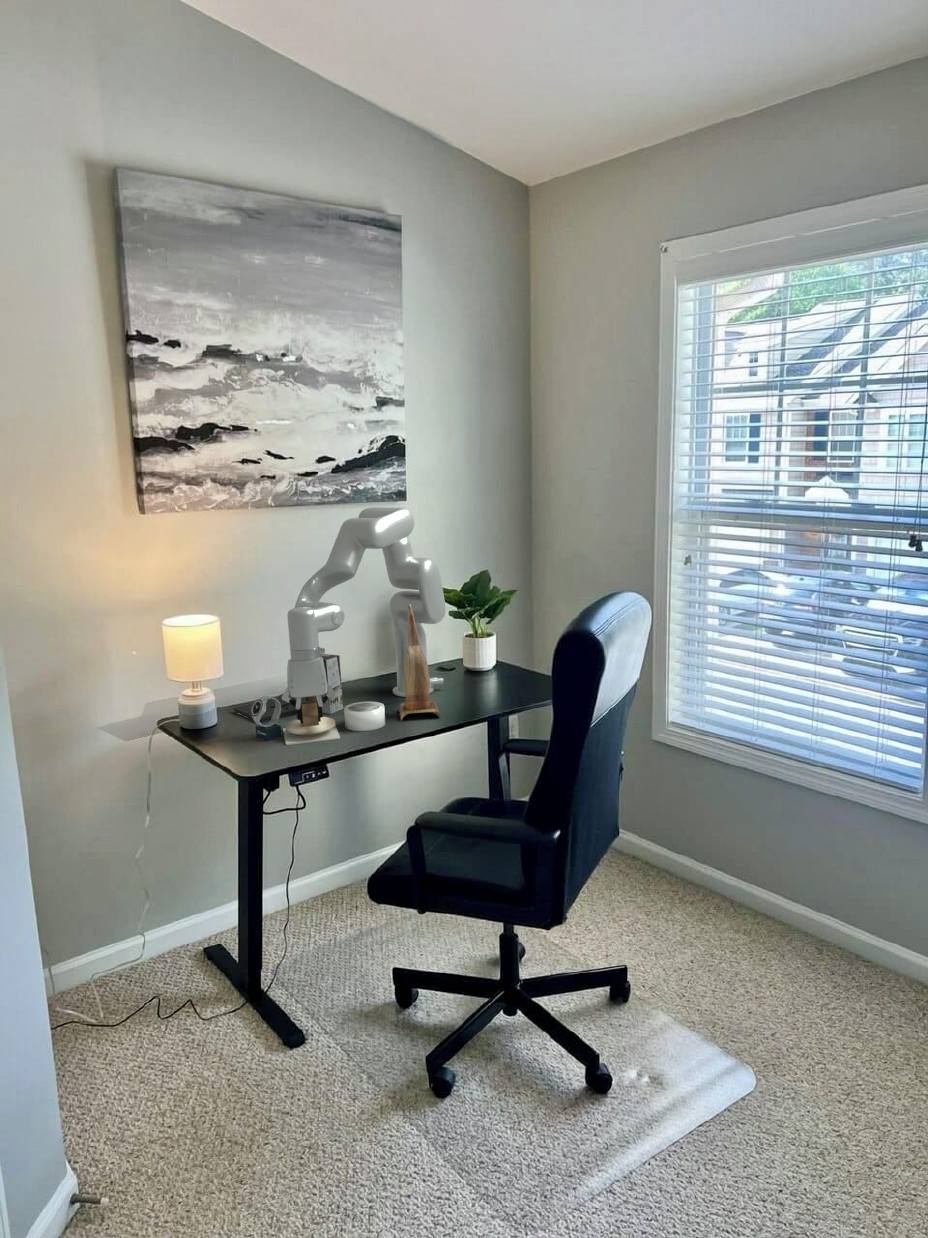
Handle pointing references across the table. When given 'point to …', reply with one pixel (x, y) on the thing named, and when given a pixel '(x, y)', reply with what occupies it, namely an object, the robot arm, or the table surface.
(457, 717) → the table surface
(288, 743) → the mat
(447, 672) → the table surface
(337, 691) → the coffee box
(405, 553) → the robot arm
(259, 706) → the watch
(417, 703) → the tan tower model
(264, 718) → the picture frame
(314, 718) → the lid
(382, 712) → the bowl
